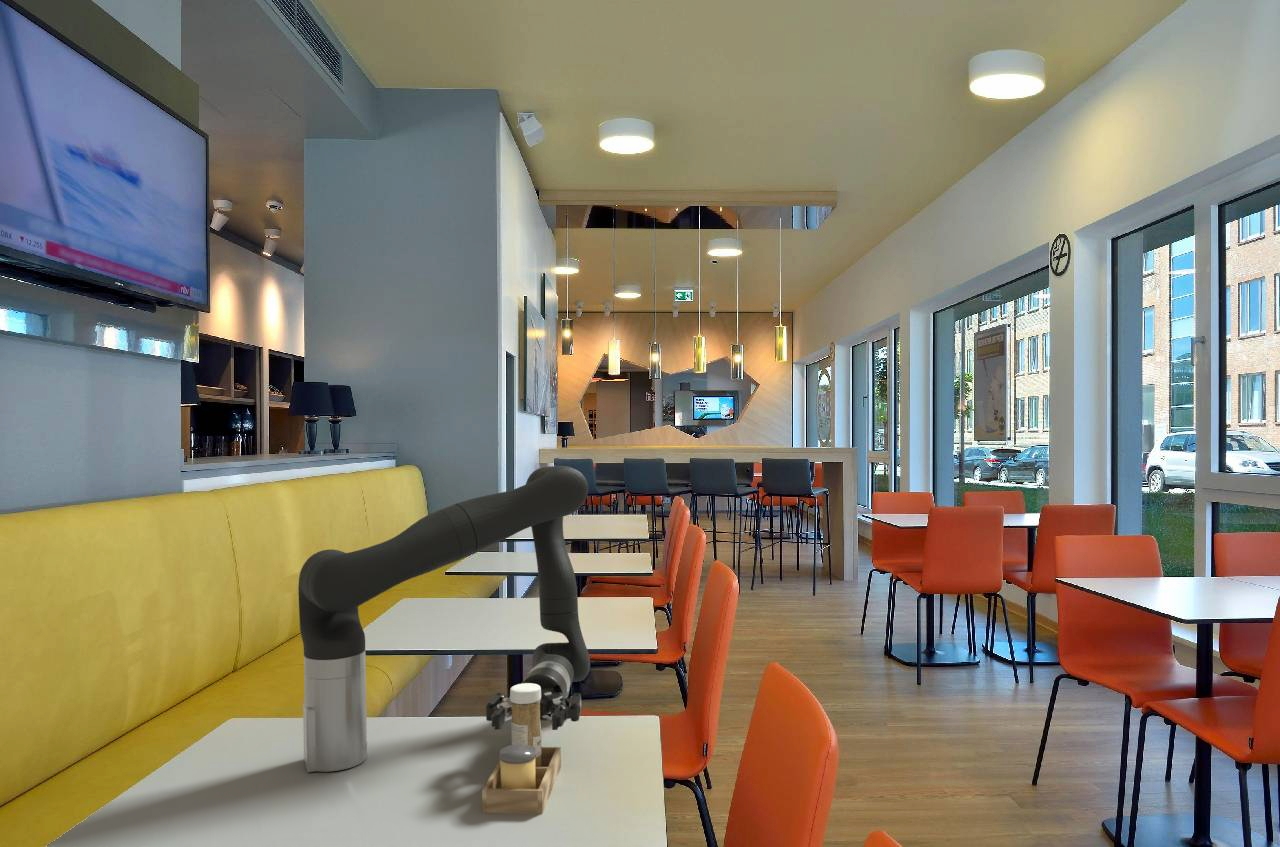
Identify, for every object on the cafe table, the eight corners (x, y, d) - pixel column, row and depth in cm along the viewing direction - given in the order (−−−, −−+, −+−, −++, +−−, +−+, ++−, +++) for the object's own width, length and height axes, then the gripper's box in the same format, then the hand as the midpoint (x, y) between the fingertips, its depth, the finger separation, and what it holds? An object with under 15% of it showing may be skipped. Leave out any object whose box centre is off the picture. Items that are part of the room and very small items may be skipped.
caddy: (542, 817, 116) (542, 790, 116) (482, 816, 117) (481, 790, 117) (561, 770, 132) (560, 747, 132) (508, 769, 132) (507, 746, 132)
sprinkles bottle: (547, 778, 127) (546, 687, 127) (519, 786, 125) (518, 693, 125) (534, 768, 131) (532, 680, 131) (506, 775, 129) (504, 685, 129)
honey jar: (506, 810, 117) (505, 760, 117) (495, 796, 121) (495, 748, 122) (541, 802, 119) (540, 753, 119) (529, 789, 124) (529, 742, 124)
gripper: (502, 666, 143) (477, 697, 127) (587, 666, 142) (573, 697, 126) (502, 712, 143) (478, 748, 126) (588, 712, 142) (574, 749, 126)
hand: (525, 723), depth 126 cm, fingers open, 8 cm apart
